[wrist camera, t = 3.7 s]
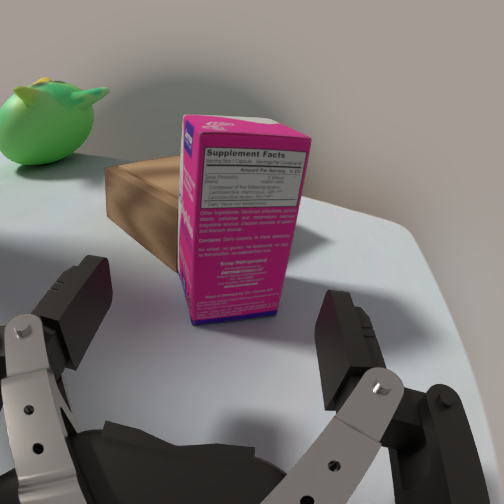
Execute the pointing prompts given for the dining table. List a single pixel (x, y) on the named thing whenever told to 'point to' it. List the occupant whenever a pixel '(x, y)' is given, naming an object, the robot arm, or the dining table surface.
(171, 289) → the dining table surface
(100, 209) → the dining table surface
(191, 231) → the supplement box
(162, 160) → the walnut plinth
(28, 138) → the toy bird
